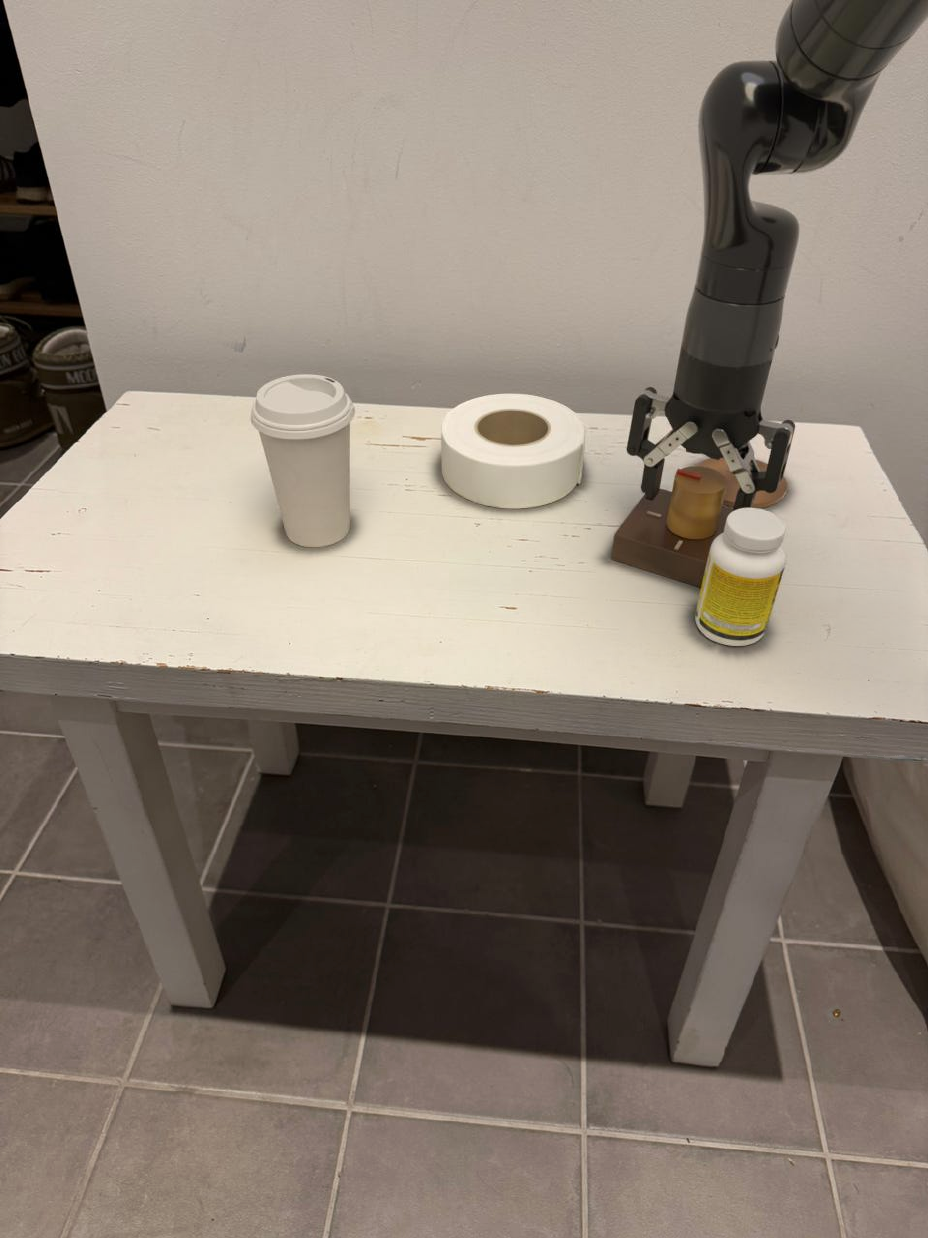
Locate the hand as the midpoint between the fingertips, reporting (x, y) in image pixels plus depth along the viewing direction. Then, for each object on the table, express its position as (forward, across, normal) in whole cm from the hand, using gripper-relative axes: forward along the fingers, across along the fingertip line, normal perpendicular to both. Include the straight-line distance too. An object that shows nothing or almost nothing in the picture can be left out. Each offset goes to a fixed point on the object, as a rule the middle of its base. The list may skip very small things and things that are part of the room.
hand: (693, 508), depth 83 cm
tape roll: (+5, -22, +5) cm, 23 cm away
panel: (+5, 0, 0) cm, 5 cm away
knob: (+2, 0, 0) cm, 2 cm away
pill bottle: (+5, +7, -9) cm, 13 cm away
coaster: (+5, +1, +15) cm, 16 cm away
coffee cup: (+5, -34, -15) cm, 37 cm away
